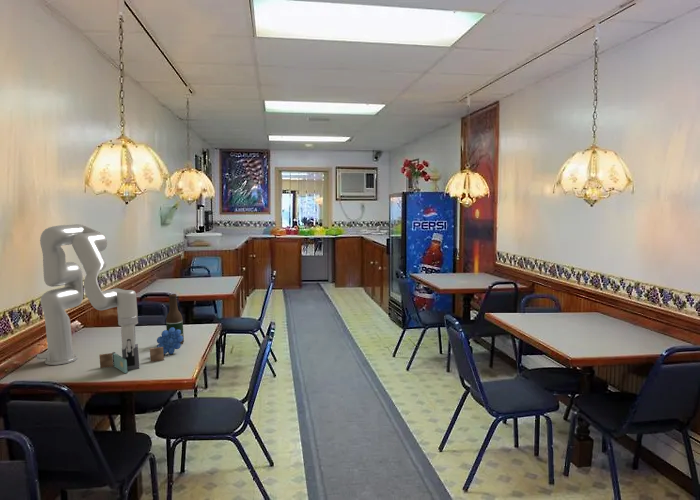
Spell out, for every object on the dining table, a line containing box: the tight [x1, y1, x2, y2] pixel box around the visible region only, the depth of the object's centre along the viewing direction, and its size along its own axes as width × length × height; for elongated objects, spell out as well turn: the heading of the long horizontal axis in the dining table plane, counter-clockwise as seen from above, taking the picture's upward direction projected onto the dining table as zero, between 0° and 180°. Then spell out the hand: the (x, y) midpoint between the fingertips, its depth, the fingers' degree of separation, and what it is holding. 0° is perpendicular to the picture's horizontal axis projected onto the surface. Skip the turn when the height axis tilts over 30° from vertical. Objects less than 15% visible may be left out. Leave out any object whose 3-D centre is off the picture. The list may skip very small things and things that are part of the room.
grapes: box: [156, 327, 183, 355], centre depth 242 cm, size 12×7×12 cm, turn 116°
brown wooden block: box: [99, 347, 165, 369], centre depth 229 cm, size 25×1×6 cm, turn 110°
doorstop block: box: [121, 343, 140, 371], centre depth 224 cm, size 6×5×9 cm
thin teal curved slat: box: [112, 352, 128, 374], centre depth 221 cm, size 13×1×5 cm, turn 41°
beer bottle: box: [165, 293, 185, 345], centre depth 258 cm, size 8×8×24 cm
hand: (130, 363), depth 224 cm, fingers closed on doorstop block, 5 cm apart
